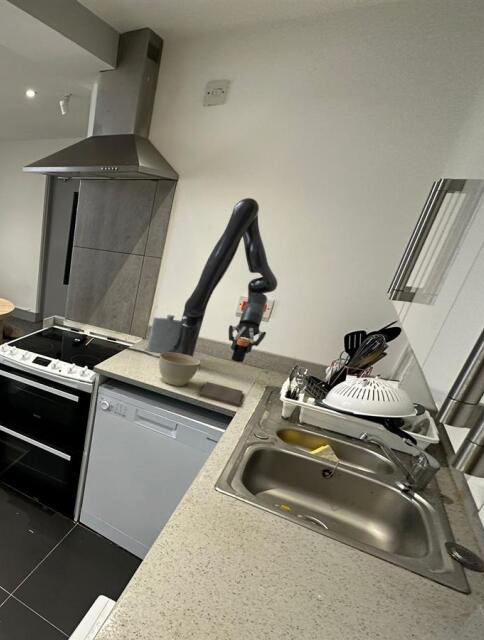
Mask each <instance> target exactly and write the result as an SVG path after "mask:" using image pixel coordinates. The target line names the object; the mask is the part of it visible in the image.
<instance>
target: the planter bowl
mask: <svg viewBox="0 0 484 640" xmlns="http://www.w3.org/2000/svg"><path fill="white" fill-rule="evenodd" d="M159 356H160V358H159V361H158V368H159V373H160V375H161V377H162V378H161V379H162V381H163V382H164V383H166V384H168V385H171V386H176V387H177V386H178V387H180V386H181V387H183V386H185V385H186V384H187V382H189V381H190V380H192V378H194V376H195V374H196V373H197V372H198V369H199V366H200V364H201V361H200V360H199V359H198V358H196V357H194V356H193V357H191V356H188V355H184V354H179V353H171V352H167V353H159Z"/></svg>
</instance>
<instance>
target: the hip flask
mask: <svg viewBox="0 0 484 640" xmlns="http://www.w3.org/2000/svg"><path fill="white" fill-rule="evenodd" d="M175 316H176V315H173V314H167V315H166V317H153V319H152V324H151V329H150V333H149V337H148V340H147V341H148V342H147V347H146V351H148V352H152V353H158V354H162V353H164V352H168V351H170V350H171V349H172V348H173V347H174V344H175V343H176V339H177V335H178V331H179V327H180V323H181V320H179V319H174V318H175Z"/></svg>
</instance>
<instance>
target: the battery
mask: <svg viewBox="0 0 484 640" xmlns="http://www.w3.org/2000/svg"><path fill="white" fill-rule="evenodd" d="M249 343H250V340H249V339H247V338H243V337H241V338H238V340H237V343H236V346H235V349H234V350H233V353H232V355H231V361H233V362H236V363H244V361H245V357H246V354H247V353H246V351H247V348H248V345H249Z"/></svg>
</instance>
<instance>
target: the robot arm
mask: <svg viewBox="0 0 484 640" xmlns="http://www.w3.org/2000/svg"><path fill="white" fill-rule="evenodd" d="M259 211H260V206H259V203H258V201H257V200H255V199H254V198H251V197H246V198H243V199H241V200H239V201H237V203H236V204H235V205H234V207H233V209H232V213H231V216H230V217H229V220H228V222H227V225H226V227H225V230H224V232H223V233H222V235H221V236H220V238H219V239H218V240H217V242H216V244H215V246H214V247H213V249H212V251H211V253H210V254H209V256H208V258H207V259H206V262H205V264H204V267H203V269H202V272H201V274H200V277H199V280H198V283H197V284H196V287H195V288H194V289H193V291H192V293H191V294H190V296H189V297H188V298H187V300H186V301H185V303H184V308H183V313H182V317H181V320H180V321H181V323H180V327H179V331H178V335H177V339H176V343H175V344H174V347H173V348H172V349H171V350H170V351H168V352H171V353H179V354H184V355H188V356H191V357H194V354H195V350H196V347H197V344H198V340H199V336H200V332H201V329H202V326H203V321H204V317H205V314H206V311H207V307H208V305H209V302H210V299H211V297H212V295H213V293H214V291H215V289H216V288H217V286H218V285H219V284H220V282H221V280H222V279H223V278H224V277H225V274H226V272H227V271H228V269H229V268H230V266H231V264H232V262H233V260H234V258H235V255H236V254H237V251H238V249H239V246H240V243H241V241H242V240H243V245H244V247H243V248H244V253H245V260H246V263H247V267H248V271H249V273H251V274H260V277H255V278H253V279H251V280H250V281H249V283H248V285H247V301H246V303H245V306H244V308H243V310H242V313H241V316H240V319H239V322H238V324H237V325H236V326H233V325H231V324H230V325H229V326H228V341H230V342H232V343H231V346H230V349H231V351H234V349H235V346H236V343H237V340H238V338H244V339H247V340H250V343H249V345H248V348H247V351H246V354H249V353H251V351H252V348H253V347H258V346H259V345H260V344H261V342H262V341H263V340H264V339H265V337H266V334H267V332H266V331H260V326H261V324H262V319H263V317H264V315H265V314H264V313H265V309H266V306H267V302H268V296H267V295H266V294H267V293H272V292H274V291H275V290H276V289H277V288H278V279H277V277H276V276H275V274H274V272H273V271H272V269H271V267H270V265H269V262H268V258H267V253H266V249H265V245H264V242H263V240H262V236H261V231H260V226H259ZM235 331H236V335H235V336H234V332H235ZM255 336H258V337H257V339H256V340H254V337H255ZM116 347H118V348H119V347H122V348H125V349H127V350H132V351H135V352H139V353H144V354H147V355H148V356H151V357H153V358H154V357H155V358H159V359H160V355H154V354H152V353H149V352H147V351H144V350H140V349H137V348H131V347H128V346H126V345H123V344H118V345H116ZM164 353H167V352H164Z"/></svg>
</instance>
